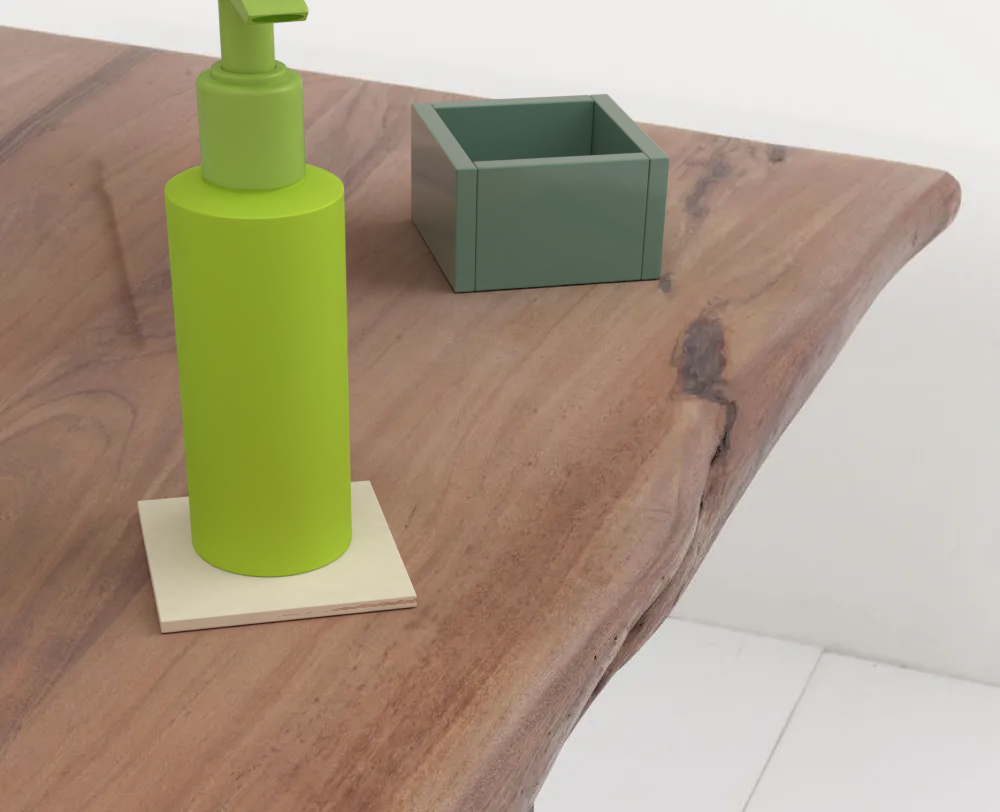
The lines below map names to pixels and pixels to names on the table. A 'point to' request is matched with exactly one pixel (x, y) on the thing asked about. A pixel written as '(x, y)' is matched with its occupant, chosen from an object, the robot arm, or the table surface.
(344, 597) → the mat
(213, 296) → the soap dispenser
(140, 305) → the table surface
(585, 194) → the holder
